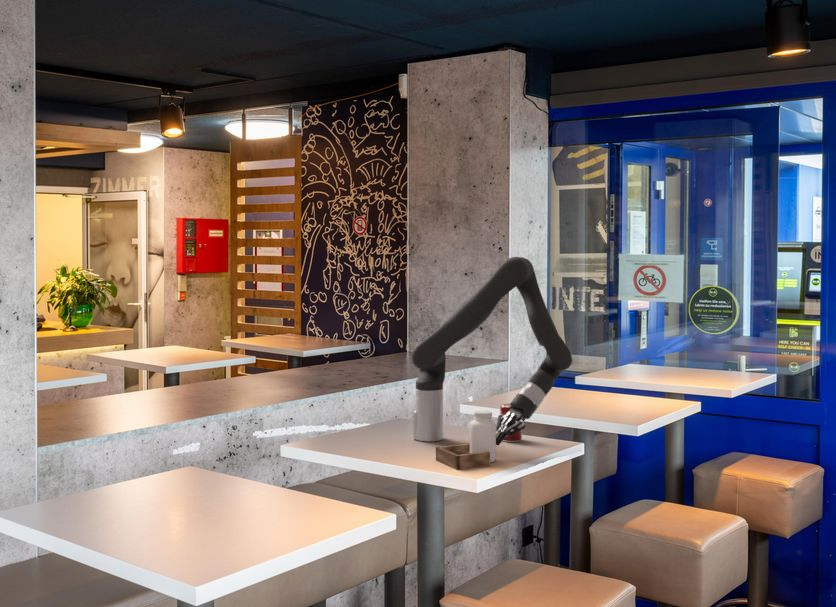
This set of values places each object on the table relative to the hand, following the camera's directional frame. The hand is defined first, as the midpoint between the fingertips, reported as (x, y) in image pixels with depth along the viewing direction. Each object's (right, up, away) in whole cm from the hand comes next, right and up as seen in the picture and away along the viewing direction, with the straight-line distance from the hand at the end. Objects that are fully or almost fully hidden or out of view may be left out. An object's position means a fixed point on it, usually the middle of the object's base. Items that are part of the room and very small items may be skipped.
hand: (494, 443), depth 279 cm
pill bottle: (-4, -5, -2) cm, 7 cm away
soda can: (+8, -3, +27) cm, 29 cm away
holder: (-10, -5, -4) cm, 12 cm away
